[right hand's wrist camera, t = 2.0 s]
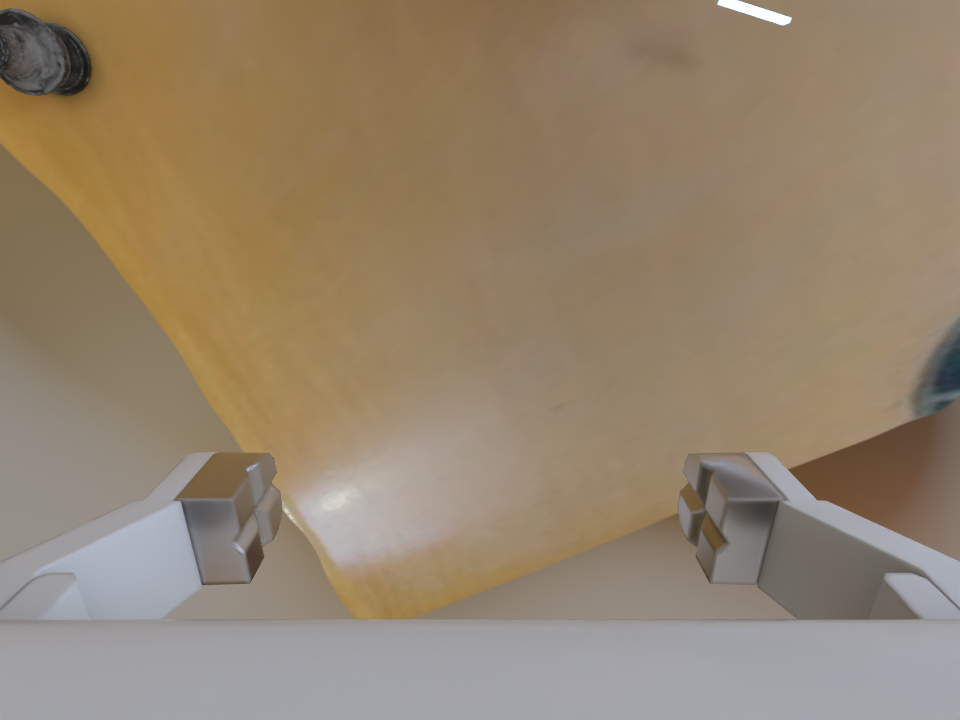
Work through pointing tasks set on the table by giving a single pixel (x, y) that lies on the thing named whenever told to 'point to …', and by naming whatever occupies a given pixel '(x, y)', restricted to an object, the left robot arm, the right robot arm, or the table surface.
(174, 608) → the right robot arm
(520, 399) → the table surface
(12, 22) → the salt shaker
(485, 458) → the table surface
